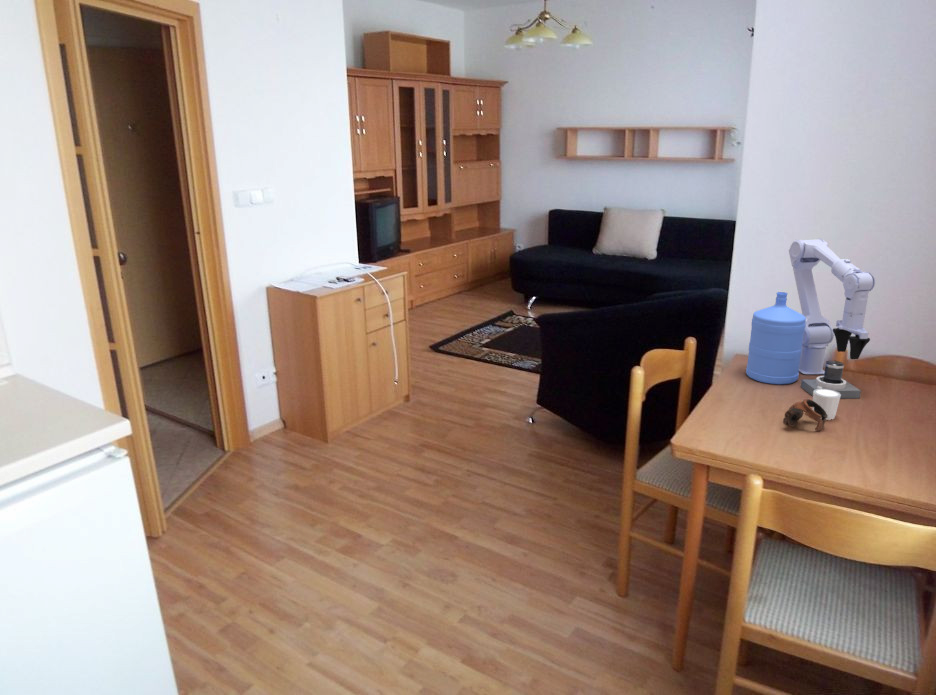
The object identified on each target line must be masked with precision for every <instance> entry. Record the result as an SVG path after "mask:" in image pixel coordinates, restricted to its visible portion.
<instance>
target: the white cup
mask: <svg viewBox="0 0 936 695" xmlns="http://www.w3.org/2000/svg"><path fill="white" fill-rule="evenodd" d="M840 397H841V394H840V393H839V392H837V391H833V390H829V389H816V390H814V391H813V396H812V401H814V402H816V403H817V404H818V405H820V406H821V407H822V408H823V409H824V411H825V412H826V414H827V418H826V420H825V421H831V419H832V420H834V419H835V418H836V415H837V412H838V408H839V403H840V400H841V399H840ZM812 410H814V407H812ZM820 419H822V418H820Z"/></svg>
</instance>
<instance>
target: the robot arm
mask: <svg viewBox="0 0 936 695" xmlns="http://www.w3.org/2000/svg"><path fill="white" fill-rule="evenodd" d="M788 254H789V257H790V258H789V259H790V263H791V266H792V270H793V275H794V280H795V285H796V290H797V294H798V299H799V305H800V308H801V314H802V315H804V316H805V318H806V321H805V323H806V325H805V331H804V336H803V342H802V352H801V357H800V364H799V373H801V374H802V375H824V372H825V369H823V368H824V362H825V355H826V350H827V348H828V347H829V344H830V343H832V342H833V341H834V337H835V341H836V350H837V352H838V353H839V352H840V353H841V352H843V353H845V352H846V351H847V348H848V345H849V348H850V350H849V358H850V360H859V358H860V356H861V354H862V352H863V350H864V348H865V347H866V345H867V344H868V343H869V342H870V341H871V338H870V337H869V332H868V331H867V330H866V328H865V327H864V323H865V316H866V310H867V306H868V299H869V294H870V293H869V292H871V291H873V289H874V288H875V285H876V278H875V276H874V275H873V273H871V272H870V271H862V270H861V268H859V267H857V266H856V265H855V264H853V263H852V261H851V260H850V258H849V259H847V258H842V259H841V258H840V257H839V256H838V255H837V254H836V253H835V252H834V251H833V250H832V249H830V247H829V243H828V242H827V241H826V240H824V239H823V238H816V239H814V238H813V239H795V240H793V241H792V242H791V244H790V247H789V249H788ZM820 262H822V263H824V264H825V265H827V266H828V267H829V268H830V270H831V274H832V275H833V276H834V277H835V278H837V279H838V280H839V281H840V282H842V285H843V289H844V297H845V300H844V301H845V302H844V307H843V314H842V320H837V319H836V324H835V326H836V327H837V328H833V327H832V326H831V323H830V320H829V319H828V318H826V317H825V316H823V315H822V312H821V308H820V304H819V298H818V294H817V290H816V285H815V281H814V276H813V271H812V270H813V268H814V267H816V266H818V264H819V263H820ZM852 334H853V335H852Z"/></svg>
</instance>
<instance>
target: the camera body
mask: <svg viewBox="0 0 936 695" xmlns="http://www.w3.org/2000/svg"><path fill="white" fill-rule="evenodd" d="M823 378H824V375H819V376H817V377H816V378H814V379H813V378H812V379H800V380H801V381H800V388H801V389H802V390H804V391H805V392H806V393H808V394H809V395H810V396H811V397H813V391H814V390H816V389H829V390H833V391H837V392H839V393H840V394H841V397H840V400H841V399H843V400H845V399H860V397H861V392H862V390H860V389H859V388H857V387H856V386H855V385H854V384H852V383H850V382H849V381H847V380H845V378H842V379H841V384H831V383H826V382H823Z"/></svg>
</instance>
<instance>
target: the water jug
mask: <svg viewBox="0 0 936 695" xmlns="http://www.w3.org/2000/svg"><path fill="white" fill-rule="evenodd" d="M787 297H788V293H787V292H783V291H782V292H781V291H777V292H776V298H775V304H774V305H771V306H768V307H765V308H762V309H759V310H756V311H754V312H753V315H752V319H751V330H750V339H749V343H748V356H747V365H746V368H745V373H746V375H747V376H748V377H749V378H750V379H752V380H754V381H757V382H760V383H763V384H770V385H789V384H790V385H791V384H793V383H795V382H796V381H798V379H799V376H800V371H799V364H800V357H801V352H802V342H803V336H804V331H805V325H806V323H805V321H806V318H805V316H804V315H803V314H802V313H801V312H798V311H796V310H794V309H792V308H791V307H789V306H788V305H787V301H788V298H787Z"/></svg>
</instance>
